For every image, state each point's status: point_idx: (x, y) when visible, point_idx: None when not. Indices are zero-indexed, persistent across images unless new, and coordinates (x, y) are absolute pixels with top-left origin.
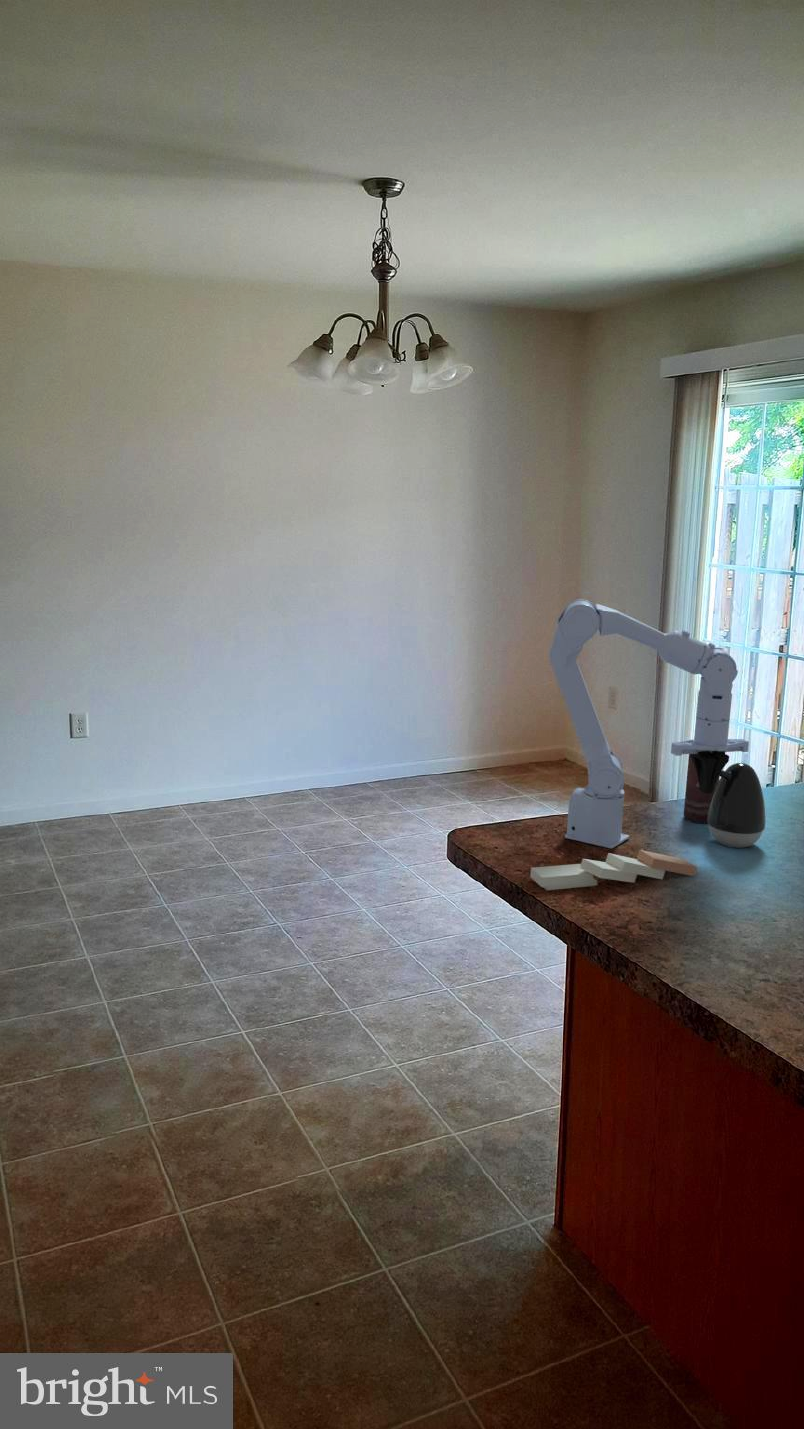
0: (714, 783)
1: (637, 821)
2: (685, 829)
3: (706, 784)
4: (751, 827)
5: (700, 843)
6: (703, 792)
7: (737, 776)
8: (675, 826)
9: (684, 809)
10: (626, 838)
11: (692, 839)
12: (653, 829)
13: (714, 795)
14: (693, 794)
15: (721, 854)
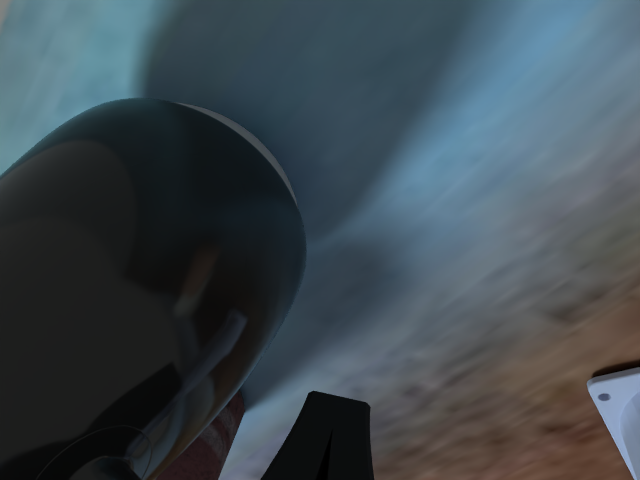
0: (290, 457)
1: (407, 452)
2: (302, 353)
3: (372, 474)
4: (151, 112)
5: (349, 237)
6: (168, 468)
7: (25, 450)
8: (317, 382)
9: (234, 437)
10: (623, 374)
11: (349, 280)
12: (413, 394)
13: (231, 396)
14: (203, 476)
15: (356, 98)
